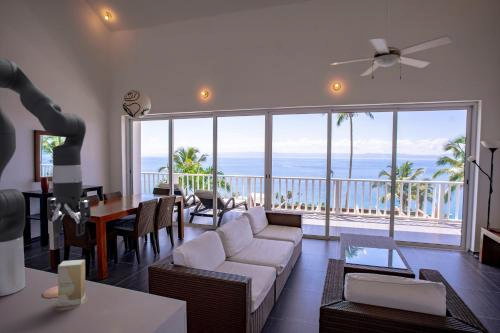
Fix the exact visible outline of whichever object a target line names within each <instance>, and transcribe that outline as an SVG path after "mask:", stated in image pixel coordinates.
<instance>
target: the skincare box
mask: <svg viewBox="0 0 500 333" xmlns="http://www.w3.org/2000/svg"><path fill="white" fill-rule="evenodd" d="M57 286H58V297H57V301H58V306H69V305H78V304H81V303H82V302H83V300H84V299H85V295H86V259H75V260H74V259H73V260H63V261H62V262H61V263H60V264H58V266H57Z"/></svg>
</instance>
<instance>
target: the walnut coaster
mask: <svg viewBox="0 0 500 333" xmlns="http://www.w3.org/2000/svg"><path fill="white" fill-rule="evenodd" d="M88 300H89V296H87V294H85V299H84V300H83V302H82V303H81V304H78V305H69V306H58V300H57V301H56V302H55V303H54V304H53V305H52V308H53V309H54V310H57V311H68V310H72V309H75V308H78V307H80V306H83V305H84V304H85V303H87V301H88Z"/></svg>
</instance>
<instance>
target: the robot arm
mask: <svg viewBox="0 0 500 333" xmlns="http://www.w3.org/2000/svg"><path fill="white" fill-rule="evenodd" d="M0 88H1V89H9V90H11V91H13V92H14V93H17V94H18V95H19V100H20V103H21V104H22V106H23V108H24V109H26V110H27V111H28V112H29V113H30V114H32V116H34V117H36V118H37V120H38V122H39V123H40V125H41V126H42V128H43V130H44V131H45V132H46V133H48V134H50V135H52V136H54V137H60V138H65V139H64V141H63V143H62V144H58V145H55V146H54V147H53V148H52V172H51V174H52V176H51V177H52V178H51V179H52V196H53V198H49V199H47V201H46V202H47V205H46V206H47V207H46V208H47V209H46V210H47V211H46V215H47V216H46V217H47V219H49V220H51V221H52V223H53V232H54V234H60V233H62V232H63V231H64V230H63V229H64V228H63V227H64V226H63V218H64V216H65V215H68V216H70V218H72V219H74V221H75V222H76V223H75V233H76V234H75V236H77V237H80V236H84V234H85V233H86V222H88V221H91V219H92V215H91V204H90V202H91V201H90V200H89V199H87V200H81V197H82V195H83V193H84V192H83V171H82V162H81V161H82V158H81V157H82V156H81V153H82V152H81V151H82V148H83V144H84V141H85V136H86V132H87V125H86V122H85V120H84V119H83V117H82V116H80V115H78V114H74V113H68V112H62V108H61V106H60V105H59V104H58V102H56V101H55V100H54V99H53V98H51V97H50V96H49V95H47V94H46V93H45V92H43V91H42V89H40V88H39V87H38V86H37V85H35V83H34V82H33V81H32V79H31V78H30V77H29V76H28V75H27V74H26V73H25V72H24V70H23V69H22V68H21V67H20V66H19V65H17V63H15V62H13V61H12V60H10V59H7V58H3V57H0ZM16 134H17V133H16V128H15V126H14V124H13V123H12V121H11V119H10V117H8V114H7V113H6V112H5V111H4V109H3V108H2V106H1V105H0V181H1V179H2V175H3V172H4V170H5V168H6V167H7V165H8V164H9V163H10V161H11V159H12V158H13V157H14V154H15V152H16V149H17V139H16V138H17V136H16ZM52 211H53V212H52ZM25 225H26V200H25V196H24V194H23V192H21V191H20V190H19V189H17V188H6V189H5V188H4V189H0V297H4V296H8V295H12V294H15V293H17V292H20V291H21V290H23V289H25V287H26V279H25V278H26V276H25V254H24V248H25V247H24V229H25V227H26V226H25Z"/></svg>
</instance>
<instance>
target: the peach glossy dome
mask: <svg viewBox="0 0 500 333" xmlns="http://www.w3.org/2000/svg"><path fill="white" fill-rule="evenodd" d="M42 295H43V297H44V298H49V299H51V298H58V285H55V286H52V287H50V288H47V289H46V290H44V291H43V293H42Z"/></svg>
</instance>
